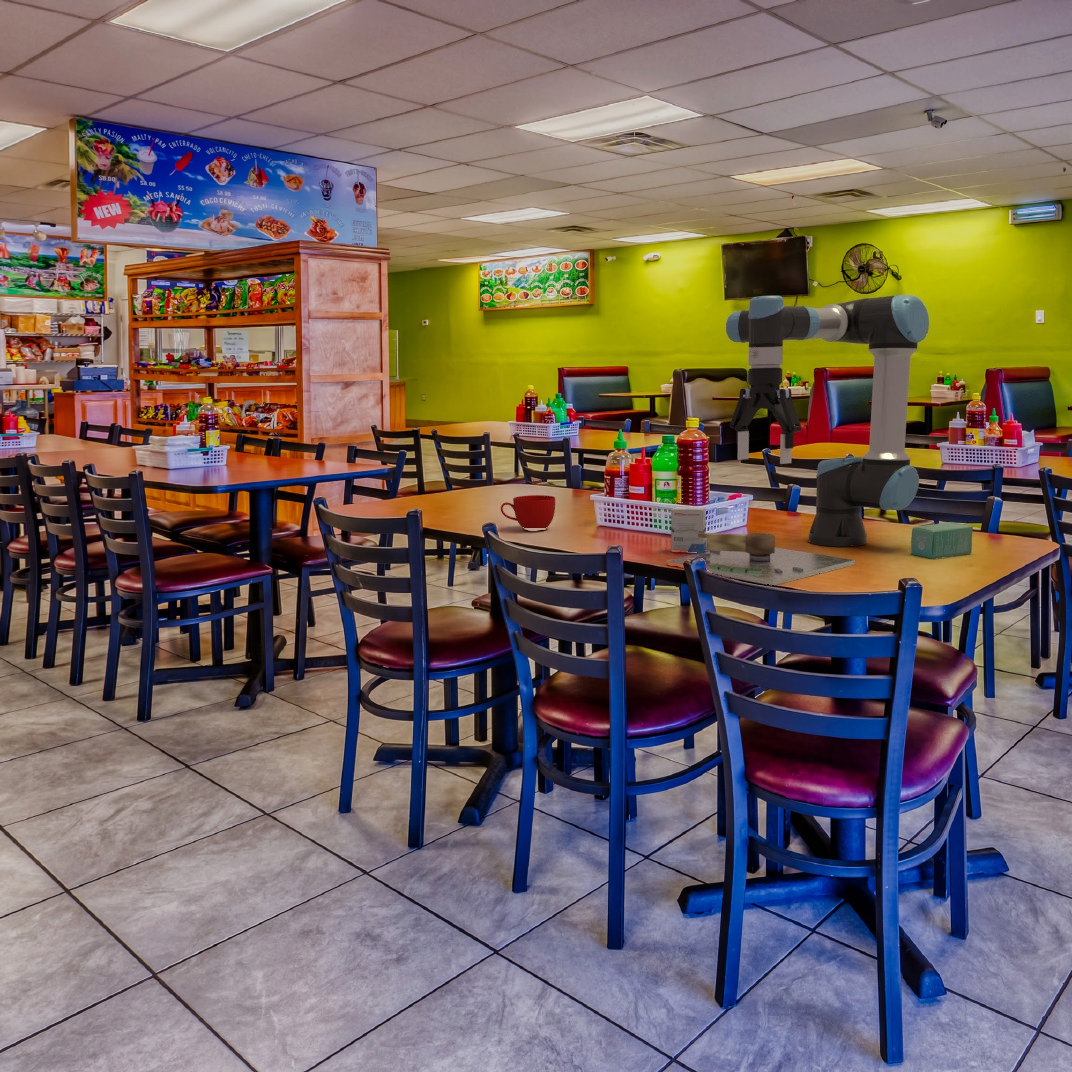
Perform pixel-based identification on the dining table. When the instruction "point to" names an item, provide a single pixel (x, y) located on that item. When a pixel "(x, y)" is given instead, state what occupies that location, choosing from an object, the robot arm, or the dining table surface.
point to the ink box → (688, 529)
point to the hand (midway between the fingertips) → (763, 461)
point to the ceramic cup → (532, 510)
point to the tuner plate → (768, 565)
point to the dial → (740, 542)
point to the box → (941, 540)
